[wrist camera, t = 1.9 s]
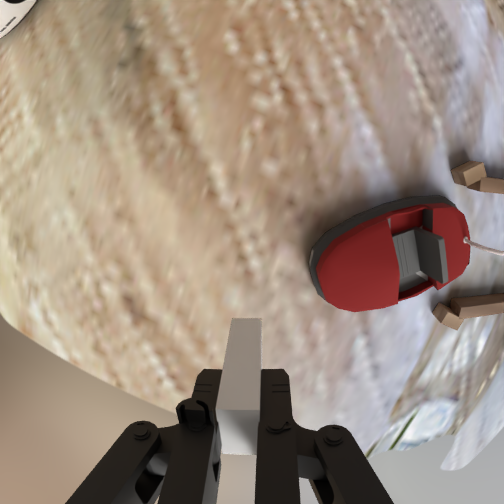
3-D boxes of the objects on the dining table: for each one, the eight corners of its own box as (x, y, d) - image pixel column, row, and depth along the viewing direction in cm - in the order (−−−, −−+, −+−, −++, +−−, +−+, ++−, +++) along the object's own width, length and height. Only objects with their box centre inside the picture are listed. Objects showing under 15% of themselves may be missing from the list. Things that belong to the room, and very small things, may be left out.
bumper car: (296, 230, 32) (311, 266, 22) (466, 176, 29) (526, 191, 19) (322, 314, 34) (340, 373, 25) (476, 257, 32) (527, 292, 22)
